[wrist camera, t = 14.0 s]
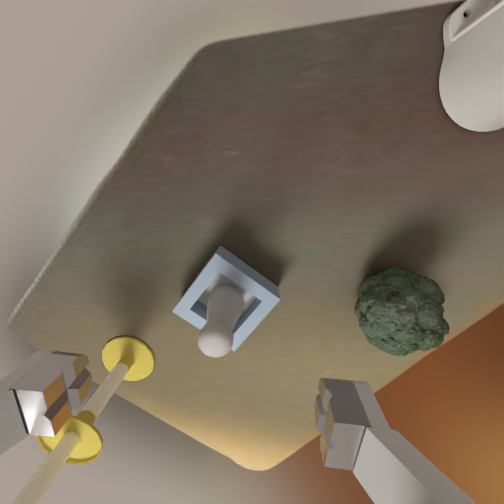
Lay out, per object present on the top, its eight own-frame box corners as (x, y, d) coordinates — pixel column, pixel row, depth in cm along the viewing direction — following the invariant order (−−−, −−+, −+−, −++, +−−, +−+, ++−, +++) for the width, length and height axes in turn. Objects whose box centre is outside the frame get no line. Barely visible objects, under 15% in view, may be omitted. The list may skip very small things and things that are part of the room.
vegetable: (396, 360, 43) (343, 354, 35) (381, 289, 49) (332, 270, 41) (485, 358, 34) (441, 349, 26) (454, 271, 40) (410, 243, 32)
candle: (125, 326, 45) (-174, 658, 14) (165, 361, 47) (-17, 719, 16) (92, 356, 47) (-231, 702, 16) (132, 388, 49) (-87, 751, 18)
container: (220, 245, 40) (215, 253, 36) (278, 286, 42) (280, 299, 38) (180, 298, 43) (172, 311, 39) (236, 334, 45) (234, 351, 41)
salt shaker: (244, 279, 41) (237, 324, 28) (246, 310, 42) (240, 365, 30) (209, 280, 41) (186, 325, 28) (212, 310, 42) (192, 366, 30)
